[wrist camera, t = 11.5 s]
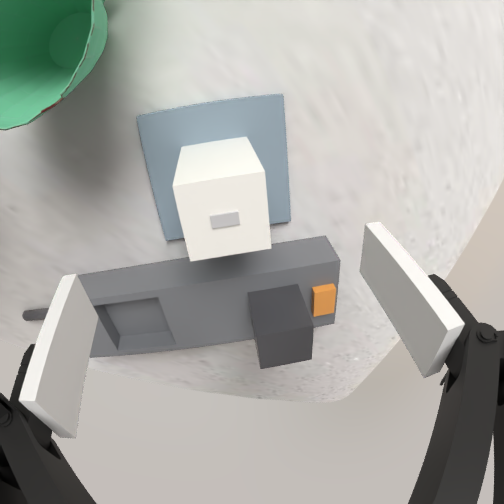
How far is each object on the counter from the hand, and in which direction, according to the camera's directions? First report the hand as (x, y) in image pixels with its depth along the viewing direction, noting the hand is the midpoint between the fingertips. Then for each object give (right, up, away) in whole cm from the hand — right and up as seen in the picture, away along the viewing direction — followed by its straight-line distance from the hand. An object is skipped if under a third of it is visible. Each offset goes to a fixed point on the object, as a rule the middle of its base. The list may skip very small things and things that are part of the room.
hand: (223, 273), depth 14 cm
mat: (-1, +8, +11) cm, 14 cm away
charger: (-1, +7, +11) cm, 13 cm away
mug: (-11, +19, +3) cm, 22 cm away
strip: (-8, -4, +18) cm, 20 cm away
